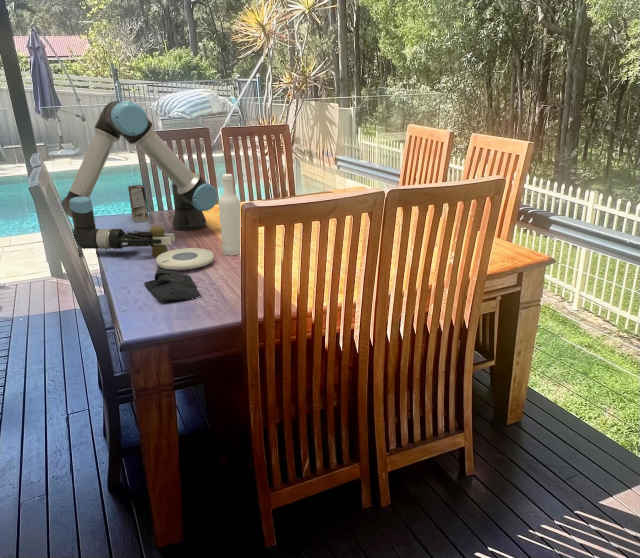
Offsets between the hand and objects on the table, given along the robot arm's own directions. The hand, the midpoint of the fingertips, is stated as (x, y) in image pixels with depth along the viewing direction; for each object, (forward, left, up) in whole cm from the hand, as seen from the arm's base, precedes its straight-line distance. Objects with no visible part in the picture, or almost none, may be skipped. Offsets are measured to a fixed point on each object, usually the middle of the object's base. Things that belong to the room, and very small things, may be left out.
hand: (172, 239), depth 198 cm
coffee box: (-16, -60, -7) cm, 62 cm away
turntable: (+3, +13, -5) cm, 14 cm away
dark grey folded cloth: (+19, +32, -7) cm, 38 cm away
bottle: (-17, +14, -6) cm, 23 cm away
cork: (+4, -4, -6) cm, 8 cm away
